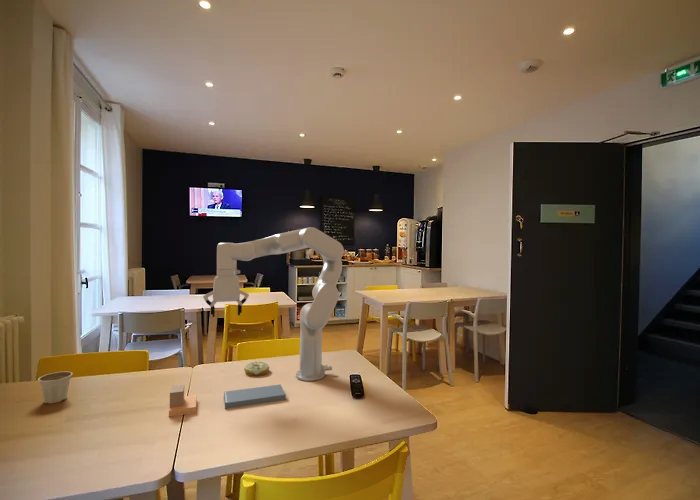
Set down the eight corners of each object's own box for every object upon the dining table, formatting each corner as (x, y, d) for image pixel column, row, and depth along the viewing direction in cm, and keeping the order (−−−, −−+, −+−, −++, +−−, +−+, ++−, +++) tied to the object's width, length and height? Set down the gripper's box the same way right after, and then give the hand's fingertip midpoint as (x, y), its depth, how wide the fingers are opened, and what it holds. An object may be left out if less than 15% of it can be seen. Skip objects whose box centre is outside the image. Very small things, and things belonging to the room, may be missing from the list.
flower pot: (32, 402, 122) (32, 377, 122) (64, 392, 131) (64, 369, 131) (45, 408, 118) (45, 383, 118) (77, 398, 126) (77, 374, 126)
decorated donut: (258, 378, 148) (258, 370, 148) (239, 374, 153) (239, 365, 153) (273, 371, 158) (273, 362, 158) (255, 367, 162) (255, 359, 162)
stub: (196, 400, 126) (196, 381, 126) (195, 412, 117) (195, 392, 117) (171, 403, 123) (172, 383, 123) (168, 416, 114) (169, 395, 114)
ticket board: (280, 389, 137) (280, 384, 137) (285, 399, 128) (285, 394, 128) (223, 397, 129) (223, 391, 129) (224, 408, 120) (225, 402, 120)
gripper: (247, 272, 147) (247, 312, 147) (203, 272, 140) (203, 315, 141) (249, 273, 140) (249, 316, 140) (203, 274, 133) (202, 318, 134)
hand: (226, 315), depth 140 cm, fingers open, 9 cm apart
